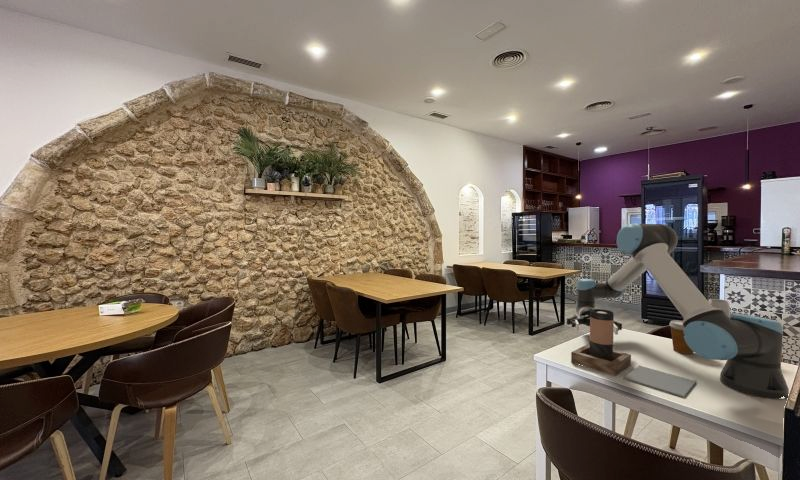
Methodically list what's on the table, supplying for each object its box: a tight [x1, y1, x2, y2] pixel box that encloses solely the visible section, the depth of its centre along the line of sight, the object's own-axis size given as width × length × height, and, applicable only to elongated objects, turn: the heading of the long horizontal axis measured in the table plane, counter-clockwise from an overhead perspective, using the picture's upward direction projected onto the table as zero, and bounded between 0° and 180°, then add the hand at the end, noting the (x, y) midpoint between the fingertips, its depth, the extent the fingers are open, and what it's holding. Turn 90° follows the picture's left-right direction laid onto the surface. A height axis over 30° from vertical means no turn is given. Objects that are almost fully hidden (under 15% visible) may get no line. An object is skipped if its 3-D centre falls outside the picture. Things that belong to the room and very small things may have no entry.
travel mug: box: [589, 308, 615, 361], centre depth 126 cm, size 8×8×20 cm
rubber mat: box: [622, 365, 697, 399], centre depth 112 cm, size 16×16×1 cm
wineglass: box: [707, 298, 731, 317], centre depth 141 cm, size 9×9×21 cm
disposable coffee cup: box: [668, 319, 694, 355], centre depth 138 cm, size 10×10×12 cm
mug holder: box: [570, 343, 632, 377], centre depth 126 cm, size 15×15×4 cm
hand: (596, 329), depth 133 cm, fingers open, 13 cm apart
